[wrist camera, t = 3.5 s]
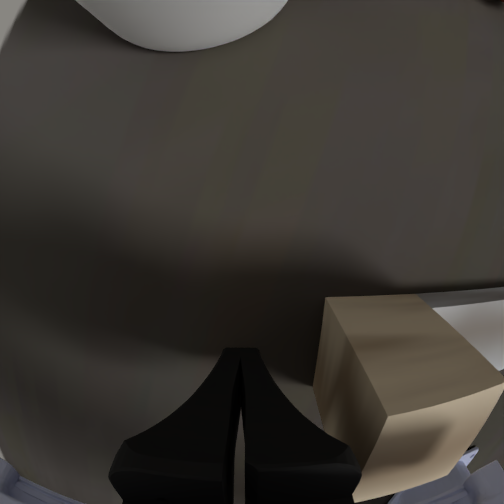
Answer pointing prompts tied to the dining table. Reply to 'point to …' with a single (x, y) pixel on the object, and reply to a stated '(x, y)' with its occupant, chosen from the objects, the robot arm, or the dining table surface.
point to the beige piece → (409, 381)
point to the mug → (182, 21)
